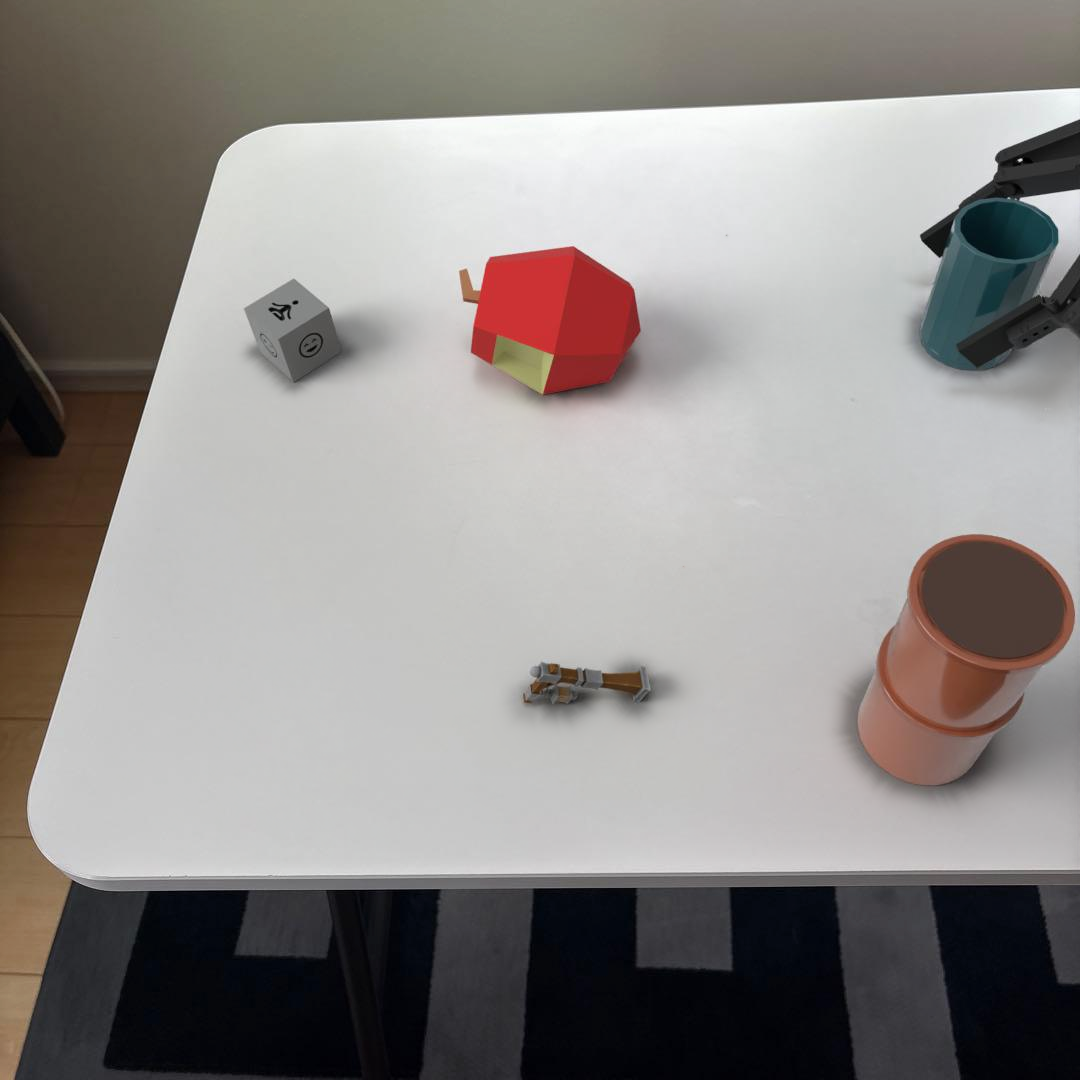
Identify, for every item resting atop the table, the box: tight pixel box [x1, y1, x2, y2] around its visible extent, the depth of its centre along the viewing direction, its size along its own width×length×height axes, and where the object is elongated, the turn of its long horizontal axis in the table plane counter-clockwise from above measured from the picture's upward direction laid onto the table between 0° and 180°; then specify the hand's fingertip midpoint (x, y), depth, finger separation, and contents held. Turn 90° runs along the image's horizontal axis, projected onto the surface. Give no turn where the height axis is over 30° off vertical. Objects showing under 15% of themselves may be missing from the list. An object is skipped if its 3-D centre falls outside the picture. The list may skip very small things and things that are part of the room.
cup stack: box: [857, 533, 1076, 786], centre depth 61 cm, size 8×8×16 cm
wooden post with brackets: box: [522, 661, 651, 705], centre depth 70 cm, size 2×8×4 cm, turn 95°
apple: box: [458, 245, 642, 396], centre depth 83 cm, size 12×12×15 cm
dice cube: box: [243, 278, 343, 383], centre depth 88 cm, size 5×5×5 cm
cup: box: [919, 198, 1060, 371], centre depth 83 cm, size 7×7×11 cm
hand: (946, 299), depth 84 cm, fingers open, 12 cm apart
